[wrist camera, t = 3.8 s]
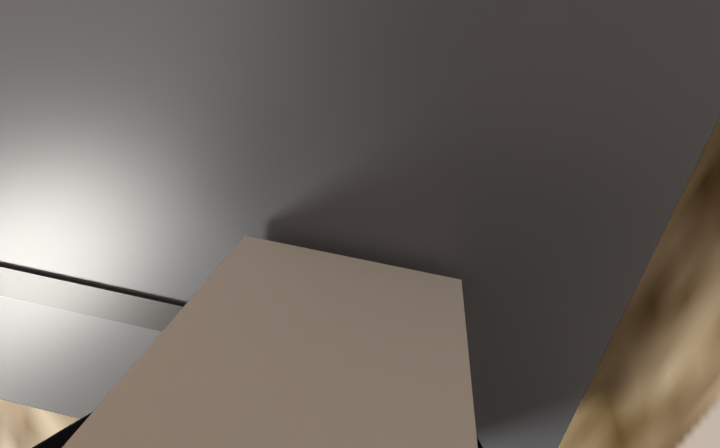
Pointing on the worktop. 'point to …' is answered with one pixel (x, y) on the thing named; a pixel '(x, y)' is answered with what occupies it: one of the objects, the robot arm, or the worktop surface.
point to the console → (344, 171)
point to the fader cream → (299, 361)
